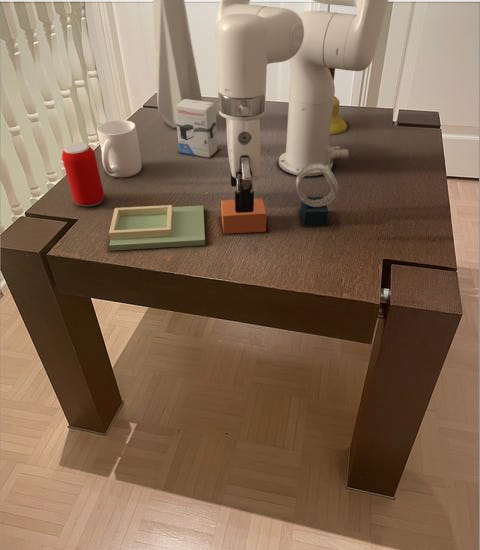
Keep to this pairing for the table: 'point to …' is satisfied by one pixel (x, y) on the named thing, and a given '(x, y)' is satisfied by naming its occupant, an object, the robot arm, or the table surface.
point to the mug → (119, 148)
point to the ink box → (196, 127)
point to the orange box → (243, 218)
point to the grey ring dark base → (316, 207)
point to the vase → (173, 58)
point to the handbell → (336, 114)
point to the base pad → (157, 227)
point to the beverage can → (83, 174)
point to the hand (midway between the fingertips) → (241, 198)
